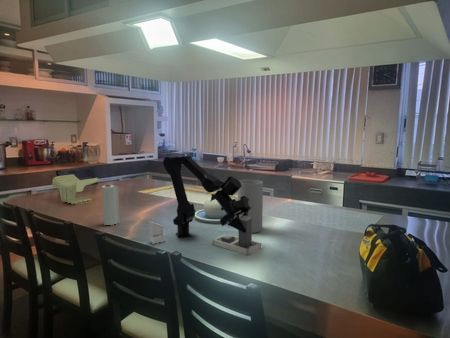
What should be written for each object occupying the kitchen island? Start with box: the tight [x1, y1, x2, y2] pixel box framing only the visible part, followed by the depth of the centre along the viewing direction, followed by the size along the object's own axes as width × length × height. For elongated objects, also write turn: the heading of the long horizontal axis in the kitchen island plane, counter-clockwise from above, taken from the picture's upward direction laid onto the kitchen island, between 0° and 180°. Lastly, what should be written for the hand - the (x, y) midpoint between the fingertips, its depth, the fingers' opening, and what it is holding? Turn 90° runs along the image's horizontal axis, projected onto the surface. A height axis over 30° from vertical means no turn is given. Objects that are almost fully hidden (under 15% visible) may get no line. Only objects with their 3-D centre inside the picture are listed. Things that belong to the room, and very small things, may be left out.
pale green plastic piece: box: [52, 173, 99, 205], centre depth 220 cm, size 30×16×18 cm, turn 56°
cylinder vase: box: [237, 179, 264, 234], centre depth 159 cm, size 12×12×25 cm
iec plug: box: [238, 216, 253, 249], centre depth 135 cm, size 4×4×13 cm
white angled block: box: [149, 220, 166, 245], centre depth 144 cm, size 4×10×9 cm, turn 126°
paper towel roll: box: [101, 184, 121, 226], centre depth 168 cm, size 7×6×21 cm
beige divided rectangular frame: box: [212, 233, 262, 256], centre depth 138 cm, size 20×10×3 cm, turn 51°
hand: (248, 230), depth 134 cm, fingers open, 5 cm apart
